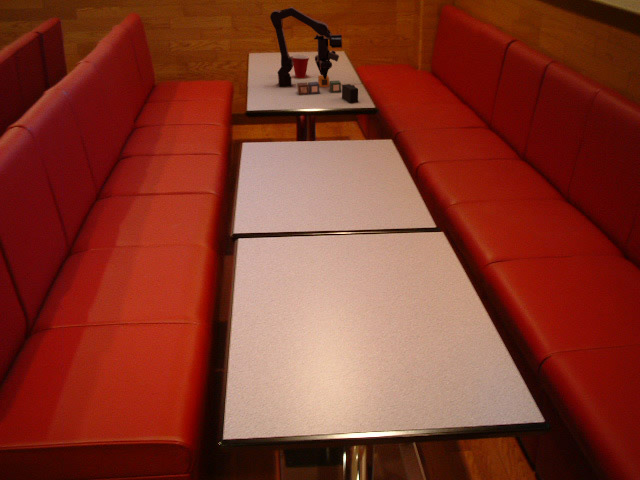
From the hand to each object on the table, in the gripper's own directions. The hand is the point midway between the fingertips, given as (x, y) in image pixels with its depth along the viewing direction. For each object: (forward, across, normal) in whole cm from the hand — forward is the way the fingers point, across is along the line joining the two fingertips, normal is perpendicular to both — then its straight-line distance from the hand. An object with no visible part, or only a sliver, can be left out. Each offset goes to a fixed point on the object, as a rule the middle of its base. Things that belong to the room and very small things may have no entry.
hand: (323, 77), depth 347 cm
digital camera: (+5, -32, -8) cm, 33 cm away
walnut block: (+5, -13, +14) cm, 19 cm away
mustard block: (+5, 0, 0) cm, 5 cm away
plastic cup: (+5, +23, +9) cm, 25 cm away
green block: (+5, -13, -4) cm, 14 cm away
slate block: (+5, -13, +8) cm, 16 cm away
